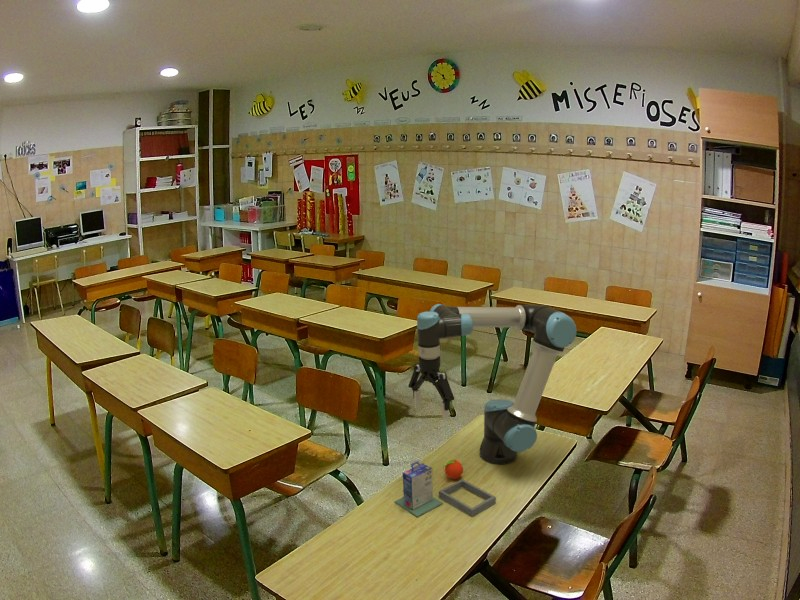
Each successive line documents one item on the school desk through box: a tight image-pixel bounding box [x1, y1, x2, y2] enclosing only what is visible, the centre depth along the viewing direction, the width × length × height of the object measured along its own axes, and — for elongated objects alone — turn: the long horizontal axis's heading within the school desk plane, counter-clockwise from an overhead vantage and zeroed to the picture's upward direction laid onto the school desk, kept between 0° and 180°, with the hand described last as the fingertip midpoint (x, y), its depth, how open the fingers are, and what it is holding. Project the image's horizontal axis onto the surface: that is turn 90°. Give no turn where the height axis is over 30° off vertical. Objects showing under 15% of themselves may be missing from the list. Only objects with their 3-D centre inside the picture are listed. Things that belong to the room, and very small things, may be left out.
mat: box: [394, 496, 444, 518], centre depth 214 cm, size 12×12×1 cm
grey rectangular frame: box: [438, 478, 497, 518], centre depth 216 cm, size 12×16×2 cm
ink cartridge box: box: [402, 460, 434, 510], centre depth 213 cm, size 10×6×14 cm, turn 130°
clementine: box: [442, 459, 464, 480], centre depth 230 cm, size 8×7×7 cm
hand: (431, 412), depth 218 cm, fingers open, 13 cm apart
